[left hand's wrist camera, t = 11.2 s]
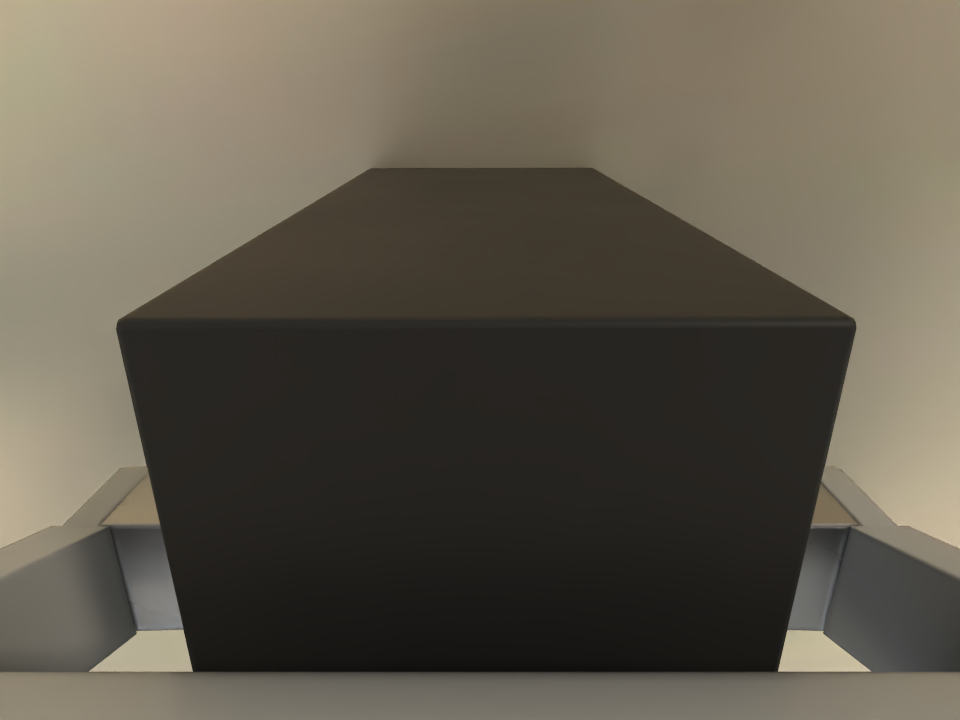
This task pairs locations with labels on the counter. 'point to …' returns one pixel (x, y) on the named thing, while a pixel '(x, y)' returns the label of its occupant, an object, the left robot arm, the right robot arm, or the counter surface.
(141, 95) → the counter surface
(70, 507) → the counter surface
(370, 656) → the box
